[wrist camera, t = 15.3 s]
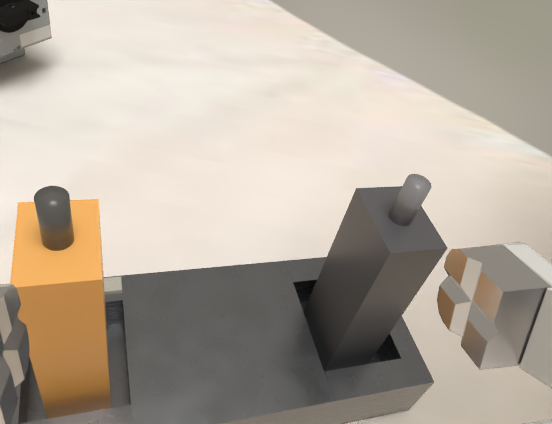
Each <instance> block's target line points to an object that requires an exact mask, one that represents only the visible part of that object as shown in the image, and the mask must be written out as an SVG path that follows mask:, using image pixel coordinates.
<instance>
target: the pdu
mask: <svg viewBox="0 0 552 424" xmlns="http://www.w3.org/2000/svg"><path fill="white" fill-rule="evenodd" d="M326 258H327V257H323V258H312V259H300V260H289V261H278V262H267V263H256V264H245V265H234V266H223V267H212V268H201V269H190V270H179V271H168V272H157V273H146V274H135V275H124V276H113V277H104V293H105V308H106V323H107V339H108V358H109V378H110V398H111V408H108V409H102V410H96V411H90V412H84V413H79V414H73V415H67V416H61V417H55V418H49V419H47V415H46V412H45V408H44V405H43V401H42V398H41V394H40V391H39V387H38V384H37V380H36V377H35V373H34V370H33V366H32V363H31V359H30V356H29V363H28V369H27V372H26V376H25V379H24V380H23V381H22V382H21V383H20V384H19V385H17V386H16V387H15V389H16V393H17V397H18V402H17V406H16V409H15V412H14V415H13V418H12V422H11V424H344V423H349V422H354V421H358V420H363V419H368V418H373V417H377V416H382V415H387V414H392V413H396V412H401V411H406V410H409V409H410V408H411V407H412V406H413V405H414V404H415V402H416V401H417V400H418V399H419V398H420V397H421V396H422V395H423V394H424V393H425V392H426V391H427V389H428V388H429V387H430V386H431V385H432V384H433V383H434V381H433V379H432V377H431V375H430V373H429V371H428V369H427V367H426V365H425V362H424V360H423V358H422V356H421V354H420V352H419V350H418V348H417V346H416V344H415V342H414V340H413V338H412V336H411V334H410V332H409V330H408V328H407V326H406V324H405V322H404V320H403V318H402V316H401V317H400V319H399V320H398V321H397V323H396V324H395V326H394V327H393V329H392V330H391V332H390V333H389V335H388V336H387V338H386V339H385V341H384V342H383V343H382V345H381V346H380V348H379V349H378V351H377V352H376V354H375V355H374V357H373V358H372V360H371V361H370V363H369V364H365V365H360V366H354V367H348V368H342V369H336V370H330V371H324V370H323V367H322V364H321V361H320V359H319V356H318V353H317V350H316V347H315V344H314V341H313V338H312V336H311V333H310V330H309V327H308V324H307V321H306V318H305V315H304V313H303V312H304V309H305V307H306V305H307V302H308V300H309V298H310V295H311V293H312V291H313V288H314V286H315V284H316V281H317V279H318V277H319V274H320V272H321V270H322V267H323V265H324V263H325V260H326ZM17 318H18V314H17ZM18 319H19V318H18Z"/></svg>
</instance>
